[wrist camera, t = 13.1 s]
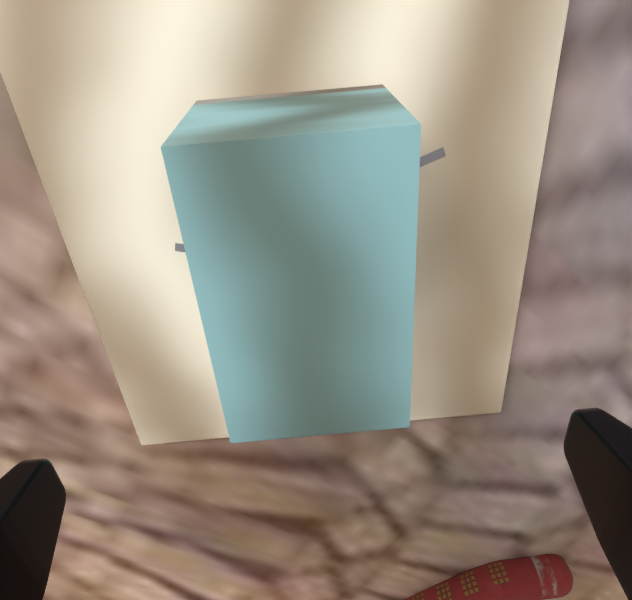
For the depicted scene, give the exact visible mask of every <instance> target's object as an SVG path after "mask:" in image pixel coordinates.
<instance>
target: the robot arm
mask: <svg viewBox="0 0 632 600" xmlns="http://www.w3.org/2000/svg"><path fill="white" fill-rule="evenodd" d="M564 453H565V456H566V459H567V462H568V464H569V467H570V469H571V472H572V474H573V477H574V480H575V482H576V485H577V487H578V490H579V492H580V495H581V498H582V500H583V503H584V505H585V508H586V511H587V513H588V516H589V518H590V521H591V523H592V526H593V528H594V531H595V533H596V536H597V538H598V540H599V543H600V545H601V547H602V549H603V551H604V553H605V555H606V557H607V559H608V561H609V563H610V565H611V567H612V569H613V571H614V573H615V575H616V577H617V578H618V580H619V582H620V584H621V586H622V588H623V590H624V592H625V594H626V596H627V598H628V600H632V428H631V427H629V426H627V425H626V424H624V423H623V422H621V421H620V420H618V419H616V418H615V417H613V416H612V415H610V414H608V413H607V412H605V411H604V410H602V409H599V408H588V409H578V410H575V411H574V412H573V413H572V415H571V417H570V421H569V425H568V429H567V432H566V436H565V440H564ZM65 502H66V492H65V488H64V486H63V484H62V482H61V480H60V478H59V477H58V475H57V473H56V471H55V469H54V467H53V465H52V463H51V462H50V461H49V460H47V459H44V458H43V459H32V460H24V461H22V462H20V463H18V464H17V465H16V466H15V467H13V468H12V469H11V470H10V471H9V472H8V473H6V474H5V475H4V476H3V477H2V478H1V479H0V600H42V599H43V596H44V593H45V589H46V585H47V581H48V577H49V573H50V568H51V564H52V560H53V555H54V551H55V546H56V542H57V538H58V533H59V529H60V524H61V520H62V516H63V511H64V507H65Z"/></svg>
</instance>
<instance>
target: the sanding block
mask: <svg viewBox="0 0 632 600" xmlns="http://www.w3.org/2000/svg"><path fill="white" fill-rule="evenodd" d="M420 140H421V124H420V123H419V122H418V120H417V119H416V118H415V117H414V116H413V115H412V114H411V113H410V112H409V111H408V110H407V109H406V108H405V107H404V106H403V105H402V104H401V103H400V102H399V101H398V100H397V99H396V98H395V97H394V96H393V95H392V94H391V93H390V92H389V90H388V89H387V88H386V87H385V86H384V85H383V84H382V85H370V86H359V87H347V88H336V89H324V90H313V91H301V92H290V93H278V94H267V95H256V96H244V97H233V98H221V99H210V100H198V101H196V102H195V103H194V105H193V106H192V107H191V108H190V110H189V111H188V112H187V114H186V115H185V116H184V117H183V119H182V120H181V121H180V123H179V124H178V125H177V126H176V128H175V129H174V130H173V132H172V133H171V134H170V135H169V137H168V138H167V139H166V141H165V142H164V143H163V144H162V146H161V151H162V155H163V159H164V164H165V168H166V172H167V176H168V181H169V185H170V189H171V193H172V198H173V202H174V206H175V210H176V214H177V219H178V223H179V227H180V231H181V236H182V240H183V244H184V248H185V253H186V257H187V261H188V265H189V269H190V274H191V278H192V282H193V286H194V291H195V295H196V299H197V303H198V308H199V312H200V316H201V320H202V324H203V329H204V333H205V337H206V341H207V346H208V350H209V354H210V358H211V363H212V367H213V371H214V375H215V380H216V384H217V388H218V392H219V396H220V401H221V405H222V409H223V413H224V418H225V422H226V426H227V430H228V435H229V439H230V443H238V442H249V441H261V440H272V439H283V438H294V437H305V436H317V435H328V434H339V433H350V432H361V431H372V430H384V429H395V428H406V427H410V408H411V382H412V355H413V328H414V301H415V274H416V247H417V220H418V193H419V167H420Z"/></svg>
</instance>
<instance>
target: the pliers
mask: <svg viewBox="0 0 632 600" xmlns="http://www.w3.org/2000/svg"><path fill="white" fill-rule="evenodd" d="M572 586H573V577H572V574H571V572H570V569H569V567H568V565H567V564H566V562H565V561H564V560H563V559H562V558H561V557H560V556H558V555H555V554H546V555H538V556H530V557H522V558H514V559H506V560H500V561H496V562H492V563H488V564H485V565H482V566H479V567H476V568H473V569H470V570H468V571H465V572H463V573H461V574H458V575H456V576H454V577H452V578H450V579H448V580H445V581H443V582H441V583H439V584H437V585H435V586H432V587H430V588H428V589H426V590H424V591H422V592H419V593H417V594H415V595H413V596H411V597H409V598H406V599H404V600H542V599H550V598H558V597H562V596H565V595H567V594H568V593H569V592H570V591H571V589H572Z"/></svg>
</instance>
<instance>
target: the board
mask: <svg viewBox="0 0 632 600" xmlns="http://www.w3.org/2000/svg"><path fill="white" fill-rule="evenodd" d="M568 5H569V0H0V72H1V75H2V77H3V80H4V82H5V85H6V88H7V90H8V93H9V96H10V98H11V101H12V104H13V106H14V109H15V112H16V114H17V117H18V120H19V122H20V125H21V127H22V130H23V133H24V135H25V138H26V141H27V143H28V146H29V149H30V151H31V154H32V157H33V159H34V162H35V165H36V167H37V170H38V172H39V175H40V178H41V180H42V183H43V186H44V188H45V191H46V194H47V196H48V199H49V202H50V204H51V207H52V210H53V212H54V215H55V217H56V220H57V223H58V225H59V228H60V231H61V233H62V236H63V239H64V241H65V244H66V247H67V249H68V252H69V255H70V257H71V260H72V262H73V265H74V268H75V270H76V273H77V276H78V278H79V281H80V284H81V286H82V289H83V292H84V294H85V297H86V300H87V302H88V305H89V307H90V310H91V313H92V315H93V318H94V321H95V323H96V326H97V329H98V331H99V334H100V337H101V339H102V342H103V345H104V347H105V350H106V352H107V355H108V358H109V360H110V363H111V366H112V368H113V371H114V374H115V376H116V379H117V382H118V384H119V387H120V390H121V392H122V395H123V397H124V400H125V403H126V405H127V408H128V411H129V413H130V416H131V419H132V421H133V424H134V427H135V429H136V432H137V435H138V437H139V440H140V442H141V445H149V444H160V443H171V442H182V441H193V440H204V439H214V438H225V437H229V435H228V430H227V426H226V422H225V418H224V413H223V409H222V405H221V401H220V396H219V392H218V388H217V384H216V380H215V375H214V371H213V367H212V363H211V358H210V354H209V350H208V346H207V341H206V337H205V333H204V329H203V324H202V320H201V316H200V312H199V308H198V303H197V299H196V295H195V291H194V286H193V282H192V278H191V274H190V269H189V265H188V261H187V257H186V253H185V248H184V244H183V240H182V236H181V231H180V227H179V223H178V219H177V214H176V210H175V206H174V202H173V198H172V193H171V189H170V185H169V181H168V176H167V172H166V168H165V164H164V159H163V155H162V151H161V146H162V144H163V143H164V142H165V141H166V139H167V138H168V137H169V135H170V134H171V133H172V132H173V130H174V129H175V128H176V126H177V125H178V124H179V123H180V121H181V120H182V119H183V117H184V116H185V115H186V114H187V112H188V111H189V110H190V108H191V107H192V106H193V105H194V103H195V102H196V101H198V100H210V99H221V98H233V97H244V96H256V95H267V94H278V93H290V92H301V91H313V90H324V89H336V88H347V87H359V86H370V85H382V84H383V85H384V86H385V87H386V88H387V89H388V90H389V92H390V93H391V94H392V95H393V96H394V97H395V98H396V99H397V100H398V101H399V102H400V103H401V104H402V105H403V106H404V107H405V108H406V109H407V110H408V111H409V112H410V113H411V114H412V115H413V116H414V117H415V118H416V119H417V120H418V122H419V123H420V124H421V140H420V167H419V193H418V220H417V247H416V274H415V301H414V328H413V355H412V382H411V408H410V421H411V420H422V419H433V418H444V417H455V416H466V415H477V414H488V413H499V412H501V409H502V403H503V397H504V391H505V385H506V379H507V373H508V367H509V361H510V355H511V349H512V343H513V337H514V331H515V325H516V319H517V313H518V307H519V301H520V295H521V289H522V283H523V277H524V271H525V264H526V258H527V252H528V246H529V240H530V234H531V228H532V222H533V216H534V210H535V204H536V198H537V192H538V186H539V180H540V174H541V168H542V162H543V156H544V150H545V144H546V138H547V132H548V126H549V120H550V114H551V108H552V102H553V96H554V90H555V84H556V78H557V72H558V66H559V60H560V54H561V48H562V42H563V36H564V30H565V23H566V17H567V11H568Z"/></svg>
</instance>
